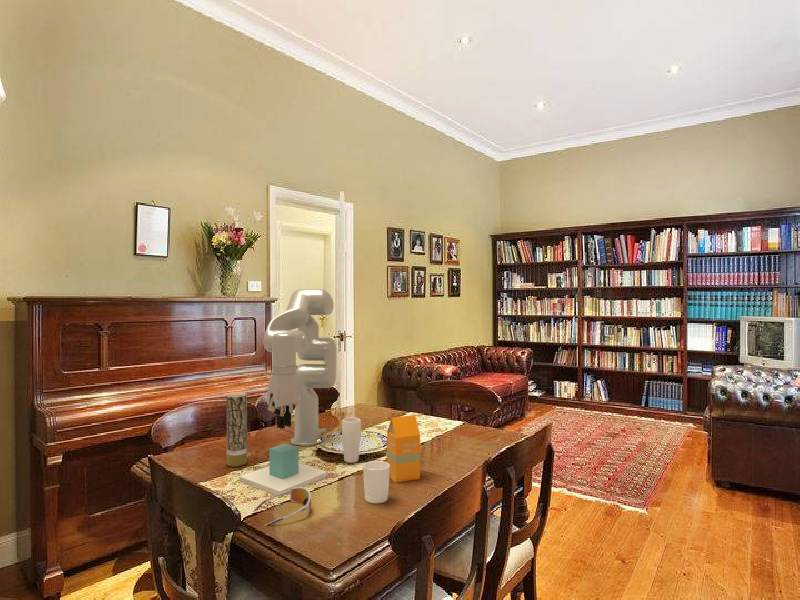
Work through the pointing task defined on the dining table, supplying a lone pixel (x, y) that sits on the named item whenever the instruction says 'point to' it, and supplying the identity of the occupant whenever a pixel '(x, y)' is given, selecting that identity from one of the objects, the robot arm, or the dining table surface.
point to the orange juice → (403, 449)
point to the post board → (278, 485)
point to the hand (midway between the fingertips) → (284, 426)
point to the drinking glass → (351, 438)
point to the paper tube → (236, 429)
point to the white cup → (376, 481)
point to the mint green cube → (283, 461)
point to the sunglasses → (296, 496)
